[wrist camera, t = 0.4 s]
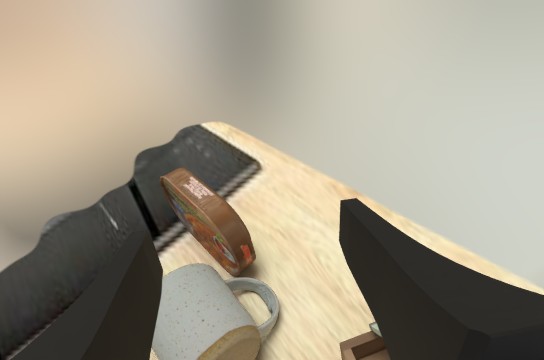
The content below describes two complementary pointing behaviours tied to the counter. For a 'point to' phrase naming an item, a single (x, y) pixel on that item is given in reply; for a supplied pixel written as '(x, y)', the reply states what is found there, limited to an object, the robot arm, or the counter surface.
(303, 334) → the counter surface
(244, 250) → the tin
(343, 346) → the crate
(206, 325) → the ceramic mug
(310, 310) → the counter surface
